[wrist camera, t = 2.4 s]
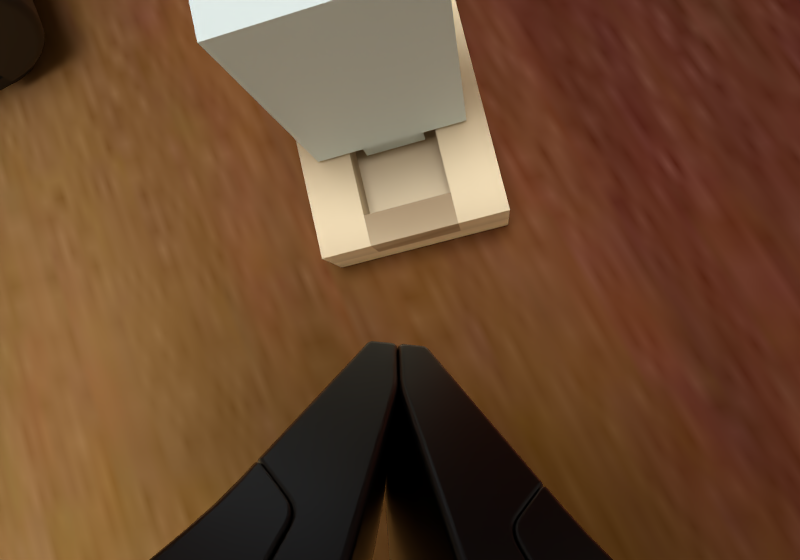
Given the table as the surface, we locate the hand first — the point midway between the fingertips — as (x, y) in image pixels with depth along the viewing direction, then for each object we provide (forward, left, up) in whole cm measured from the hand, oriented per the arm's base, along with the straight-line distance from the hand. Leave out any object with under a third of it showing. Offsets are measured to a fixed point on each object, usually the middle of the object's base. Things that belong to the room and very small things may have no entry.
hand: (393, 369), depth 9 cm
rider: (+9, -1, -11) cm, 14 cm away
